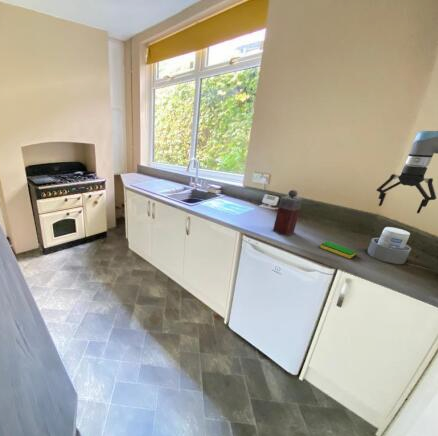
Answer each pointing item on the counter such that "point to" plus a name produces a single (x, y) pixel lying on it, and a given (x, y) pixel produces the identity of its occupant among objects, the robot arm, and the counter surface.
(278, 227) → the glass decanter
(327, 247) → the dish sponge
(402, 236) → the supplement tub
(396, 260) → the gray round bowl
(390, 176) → the robot arm
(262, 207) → the counter surface
